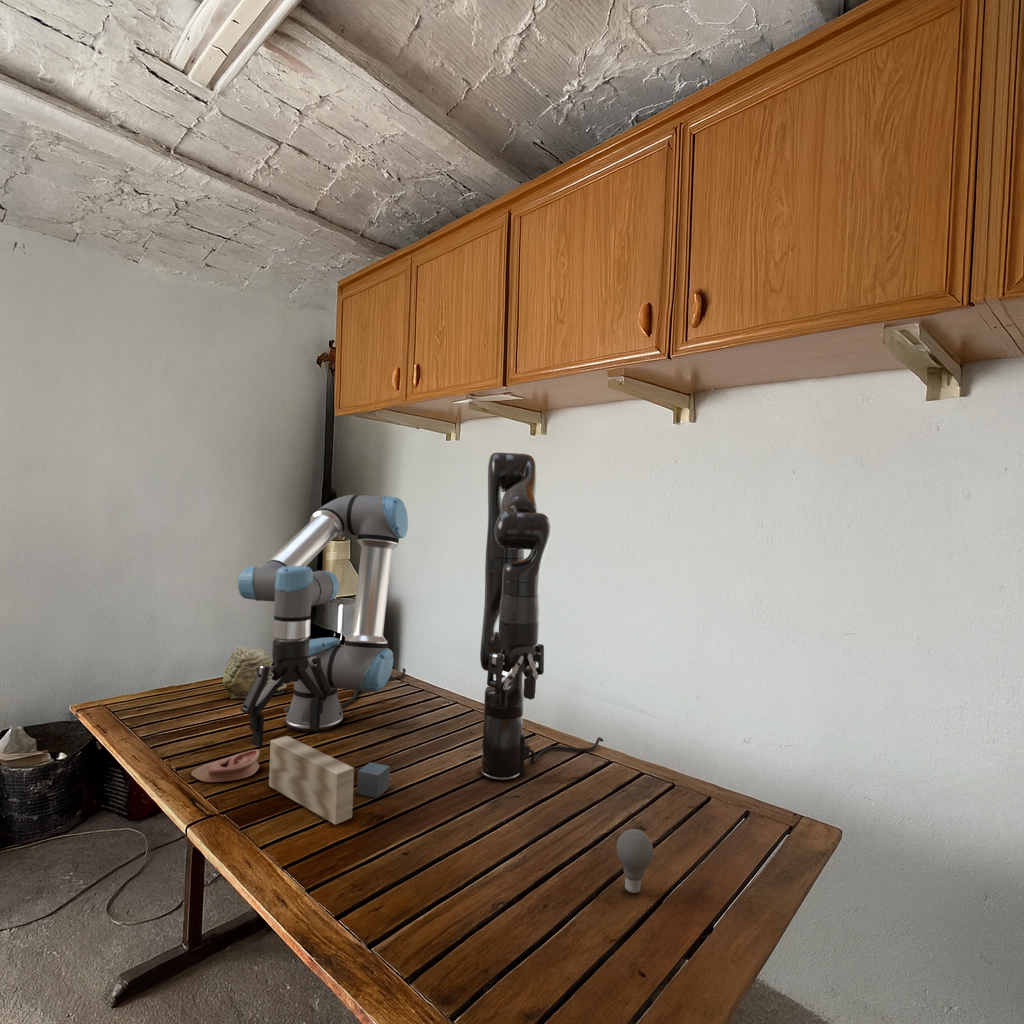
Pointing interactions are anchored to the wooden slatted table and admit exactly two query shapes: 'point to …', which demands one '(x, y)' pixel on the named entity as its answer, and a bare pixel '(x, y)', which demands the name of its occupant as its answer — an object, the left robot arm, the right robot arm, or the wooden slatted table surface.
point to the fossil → (245, 671)
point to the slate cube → (373, 780)
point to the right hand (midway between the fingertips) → (515, 703)
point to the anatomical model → (229, 768)
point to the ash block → (312, 779)
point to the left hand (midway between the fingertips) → (287, 737)
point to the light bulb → (634, 857)
